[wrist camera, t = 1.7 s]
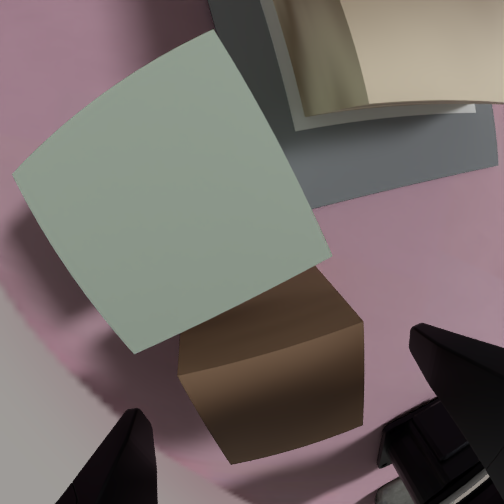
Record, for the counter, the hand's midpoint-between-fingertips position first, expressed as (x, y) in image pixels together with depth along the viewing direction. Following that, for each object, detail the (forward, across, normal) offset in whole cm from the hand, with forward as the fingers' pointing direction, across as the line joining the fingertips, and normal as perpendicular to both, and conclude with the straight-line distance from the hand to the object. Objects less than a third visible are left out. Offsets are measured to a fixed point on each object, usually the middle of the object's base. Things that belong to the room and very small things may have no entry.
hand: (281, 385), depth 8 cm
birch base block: (+3, -7, -11) cm, 13 cm away
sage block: (+3, +1, -6) cm, 7 cm away
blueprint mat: (+3, -7, -11) cm, 14 cm away
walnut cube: (+3, 0, 0) cm, 3 cm away
